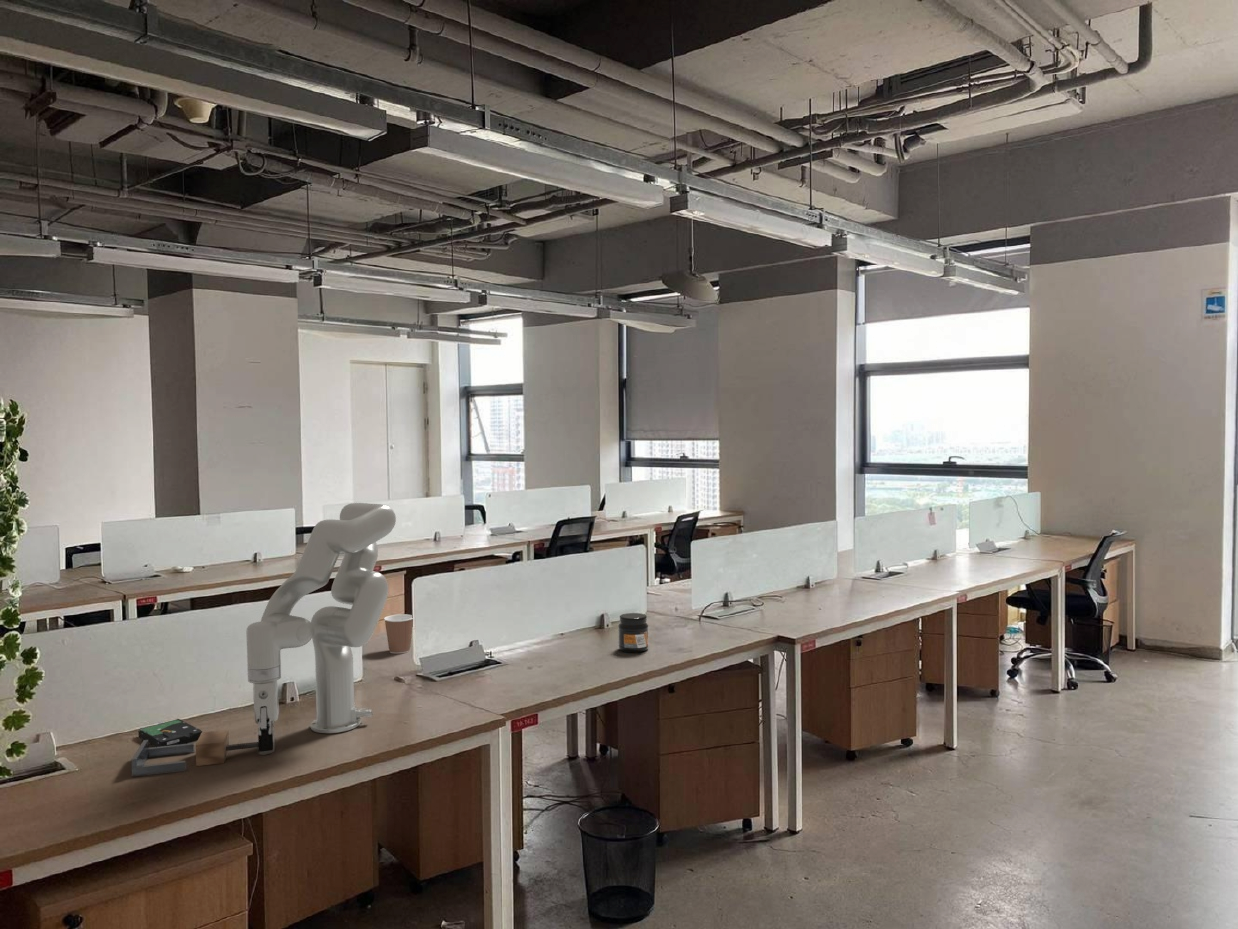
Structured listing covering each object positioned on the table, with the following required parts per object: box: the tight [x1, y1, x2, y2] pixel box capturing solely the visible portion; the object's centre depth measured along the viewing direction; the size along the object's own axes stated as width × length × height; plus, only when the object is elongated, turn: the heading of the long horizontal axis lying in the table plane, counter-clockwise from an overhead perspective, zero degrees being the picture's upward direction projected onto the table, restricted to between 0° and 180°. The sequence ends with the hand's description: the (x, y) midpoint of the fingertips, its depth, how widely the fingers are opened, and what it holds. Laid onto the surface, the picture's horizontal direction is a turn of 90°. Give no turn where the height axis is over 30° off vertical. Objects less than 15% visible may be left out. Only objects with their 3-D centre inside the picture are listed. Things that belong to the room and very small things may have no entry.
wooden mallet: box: [195, 724, 276, 767], centre depth 212 cm, size 17×9×6 cm, turn 107°
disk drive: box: [138, 718, 203, 747], centre depth 225 cm, size 10×3×15 cm
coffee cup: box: [383, 613, 414, 655], centre depth 309 cm, size 10×10×12 cm
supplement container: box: [617, 612, 649, 654], centre depth 308 cm, size 10×10×12 cm
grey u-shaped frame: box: [131, 740, 195, 778], centre depth 208 cm, size 11×13×4 cm
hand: (266, 746), depth 214 cm, fingers closed on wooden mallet, 3 cm apart
